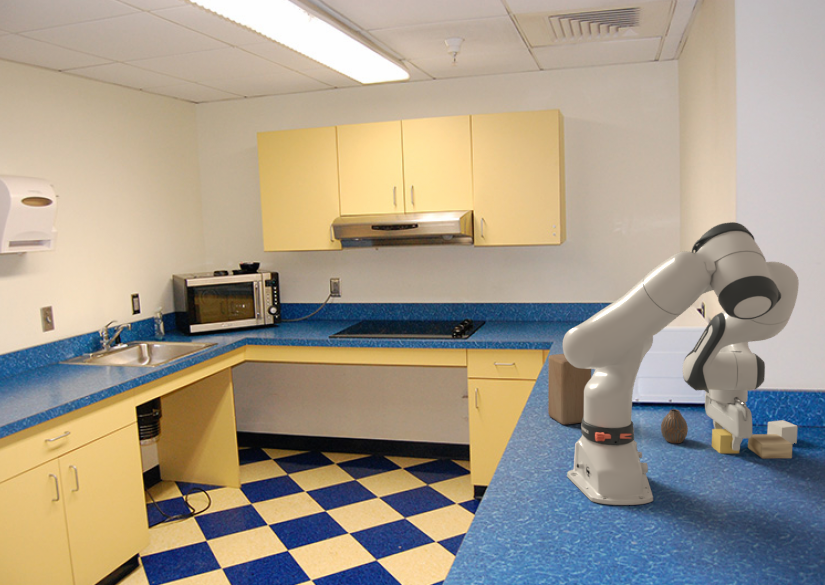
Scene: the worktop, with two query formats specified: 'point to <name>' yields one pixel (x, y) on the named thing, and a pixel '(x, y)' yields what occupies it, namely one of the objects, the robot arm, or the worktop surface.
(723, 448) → the ochre cube
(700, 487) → the worktop surface
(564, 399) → the block
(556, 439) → the worktop surface
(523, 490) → the worktop surface
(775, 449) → the maple base
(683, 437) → the vase
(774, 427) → the grey cube
